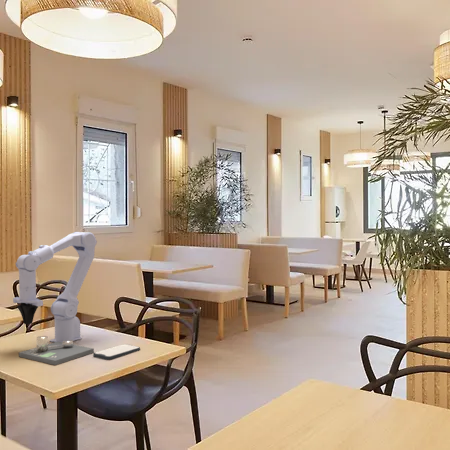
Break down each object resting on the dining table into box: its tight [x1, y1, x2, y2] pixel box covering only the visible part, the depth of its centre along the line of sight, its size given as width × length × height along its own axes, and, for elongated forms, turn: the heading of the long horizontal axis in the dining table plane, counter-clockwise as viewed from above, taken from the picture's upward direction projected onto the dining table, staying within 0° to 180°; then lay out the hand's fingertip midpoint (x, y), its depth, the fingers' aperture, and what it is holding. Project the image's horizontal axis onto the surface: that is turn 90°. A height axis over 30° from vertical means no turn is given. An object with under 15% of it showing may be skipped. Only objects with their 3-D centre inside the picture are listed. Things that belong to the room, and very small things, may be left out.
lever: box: [30, 335, 74, 352], centre depth 175 cm, size 15×4×5 cm, turn 125°
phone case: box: [92, 343, 141, 361], centre depth 176 cm, size 9×2×16 cm
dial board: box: [18, 342, 95, 366], centre depth 174 cm, size 17×19×2 cm
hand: (28, 323), depth 181 cm, fingers closed
